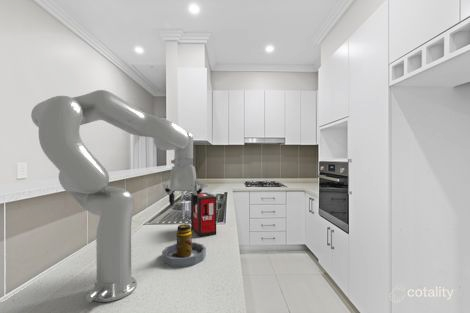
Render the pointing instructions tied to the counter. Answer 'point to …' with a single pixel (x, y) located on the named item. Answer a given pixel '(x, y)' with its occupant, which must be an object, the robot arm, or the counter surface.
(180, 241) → the condiment
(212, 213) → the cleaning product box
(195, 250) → the round tray
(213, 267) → the counter surface
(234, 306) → the counter surface
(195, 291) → the counter surface
